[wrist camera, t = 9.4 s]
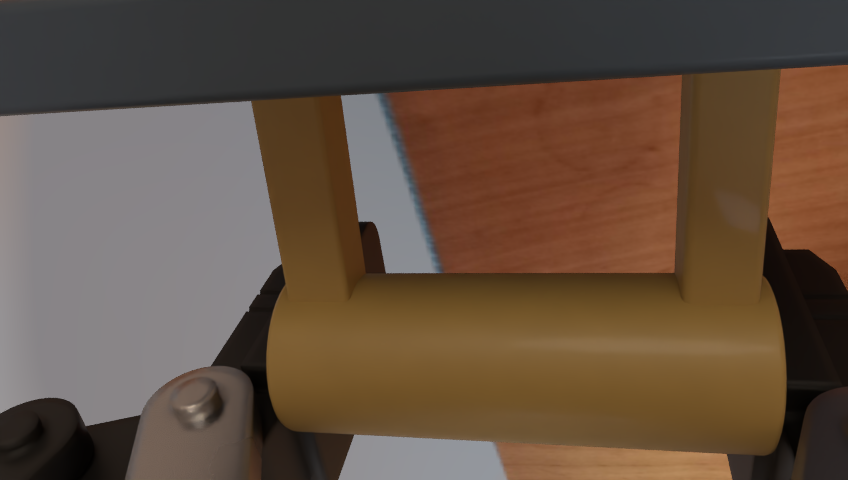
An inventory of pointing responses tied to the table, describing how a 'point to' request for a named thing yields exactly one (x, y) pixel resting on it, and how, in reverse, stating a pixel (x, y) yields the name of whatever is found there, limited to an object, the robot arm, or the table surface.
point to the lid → (476, 292)
